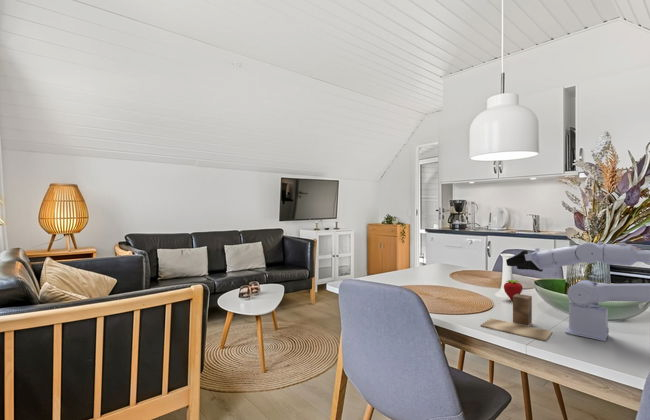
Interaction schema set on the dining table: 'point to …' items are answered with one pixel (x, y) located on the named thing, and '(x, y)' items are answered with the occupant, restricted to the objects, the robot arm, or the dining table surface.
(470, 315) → the dining table surface
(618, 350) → the dining table surface
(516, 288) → the strawberry
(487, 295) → the dining table surface
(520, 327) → the light wood flat board
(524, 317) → the walnut block
